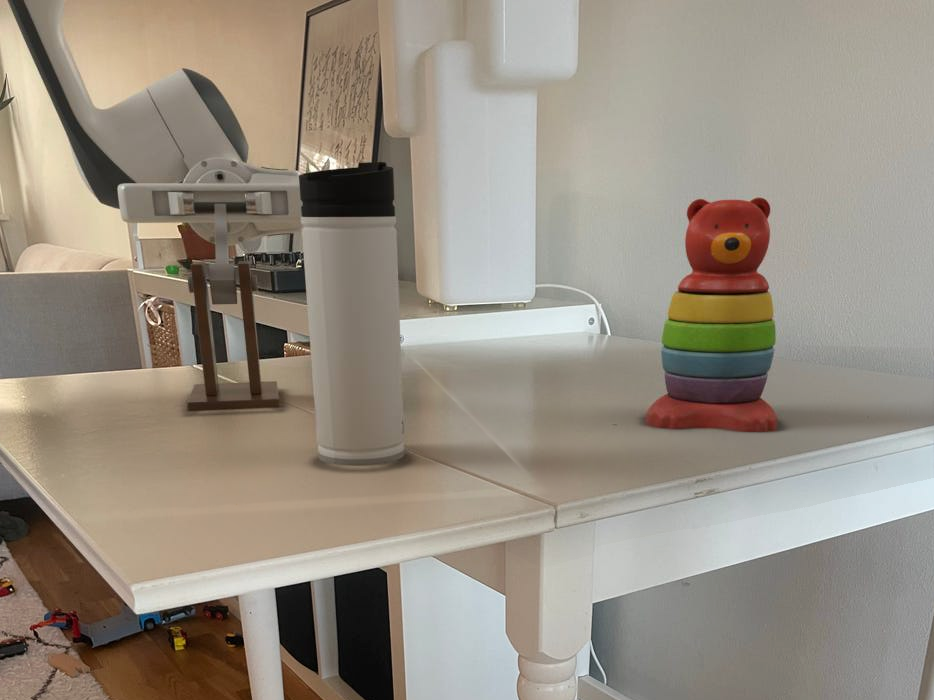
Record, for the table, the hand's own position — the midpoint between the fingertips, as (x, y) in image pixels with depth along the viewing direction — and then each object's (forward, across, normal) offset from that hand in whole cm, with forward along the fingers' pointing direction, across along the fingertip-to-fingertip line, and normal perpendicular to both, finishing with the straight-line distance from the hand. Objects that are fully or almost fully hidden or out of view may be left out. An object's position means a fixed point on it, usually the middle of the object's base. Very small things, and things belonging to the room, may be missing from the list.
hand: (220, 203), depth 95 cm
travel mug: (+37, +9, +17) cm, 42 cm away
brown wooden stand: (+12, 0, +18) cm, 21 cm away
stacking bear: (+29, +40, +17) cm, 52 cm away
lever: (+5, 0, +5) cm, 7 cm away
